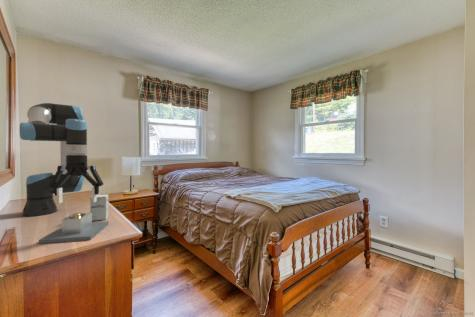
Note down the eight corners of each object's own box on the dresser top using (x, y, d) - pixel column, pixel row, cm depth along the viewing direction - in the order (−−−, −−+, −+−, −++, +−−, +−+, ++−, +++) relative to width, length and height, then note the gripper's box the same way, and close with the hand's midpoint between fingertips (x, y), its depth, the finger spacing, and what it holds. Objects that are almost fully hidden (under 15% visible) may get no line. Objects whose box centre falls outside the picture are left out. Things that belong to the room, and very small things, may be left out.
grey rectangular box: (75, 226, 101) (75, 213, 101) (92, 225, 102) (91, 212, 102) (62, 233, 91) (62, 219, 91) (80, 232, 92) (80, 218, 92)
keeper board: (67, 226, 104) (67, 223, 104) (108, 224, 108) (108, 221, 108) (38, 243, 85) (38, 239, 85) (90, 239, 89) (90, 236, 89)
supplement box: (89, 221, 113) (89, 197, 112) (93, 217, 119) (93, 194, 119) (106, 220, 115) (106, 196, 115) (108, 216, 122) (108, 193, 122)
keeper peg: (76, 228, 97) (76, 212, 97) (82, 228, 98) (82, 212, 98) (73, 230, 95) (73, 214, 95) (79, 230, 96) (79, 213, 95)
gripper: (37, 154, 89) (38, 205, 90) (104, 154, 95) (105, 203, 95) (49, 154, 97) (50, 201, 98) (110, 154, 102) (111, 199, 103)
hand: (77, 202), depth 96 cm, fingers open, 13 cm apart
